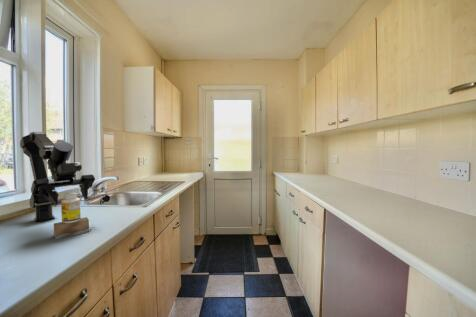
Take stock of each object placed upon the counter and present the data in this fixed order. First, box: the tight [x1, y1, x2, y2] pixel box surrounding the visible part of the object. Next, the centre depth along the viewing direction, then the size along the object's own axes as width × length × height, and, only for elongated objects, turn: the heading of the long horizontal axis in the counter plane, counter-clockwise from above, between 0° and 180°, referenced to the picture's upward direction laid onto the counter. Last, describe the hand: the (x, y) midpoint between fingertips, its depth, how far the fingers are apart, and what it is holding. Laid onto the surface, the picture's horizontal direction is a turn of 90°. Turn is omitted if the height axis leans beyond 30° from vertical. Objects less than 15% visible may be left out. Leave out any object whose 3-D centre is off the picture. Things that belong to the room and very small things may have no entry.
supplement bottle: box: [60, 192, 81, 223], centre depth 83 cm, size 6×6×10 cm
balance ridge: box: [53, 216, 91, 240], centre depth 83 cm, size 10×6×4 cm, turn 134°
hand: (72, 201), depth 82 cm, fingers open, 9 cm apart
